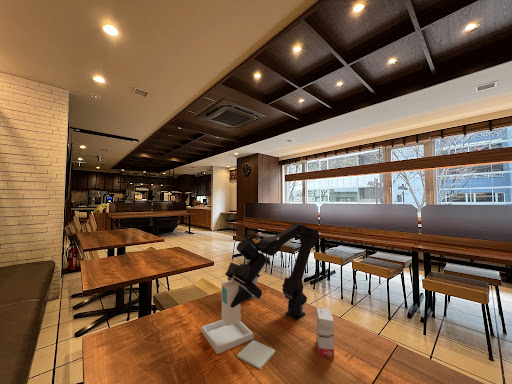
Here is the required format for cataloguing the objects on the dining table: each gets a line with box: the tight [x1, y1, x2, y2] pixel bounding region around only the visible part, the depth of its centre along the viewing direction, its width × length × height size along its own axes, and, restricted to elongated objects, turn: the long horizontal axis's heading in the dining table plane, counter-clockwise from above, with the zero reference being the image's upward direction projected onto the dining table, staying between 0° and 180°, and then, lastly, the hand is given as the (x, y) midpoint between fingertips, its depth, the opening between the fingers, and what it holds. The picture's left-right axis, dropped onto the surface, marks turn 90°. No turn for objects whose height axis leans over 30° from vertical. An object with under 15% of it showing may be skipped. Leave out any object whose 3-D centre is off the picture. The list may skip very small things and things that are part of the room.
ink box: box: [316, 307, 335, 359], centre depth 73 cm, size 9×5×12 cm, turn 168°
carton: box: [221, 280, 242, 326], centre depth 76 cm, size 5×5×13 cm
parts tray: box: [201, 319, 254, 355], centre depth 78 cm, size 14×14×2 cm
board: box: [236, 339, 276, 370], centre depth 69 cm, size 9×9×1 cm
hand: (227, 303), depth 75 cm, fingers closed on carton, 5 cm apart
